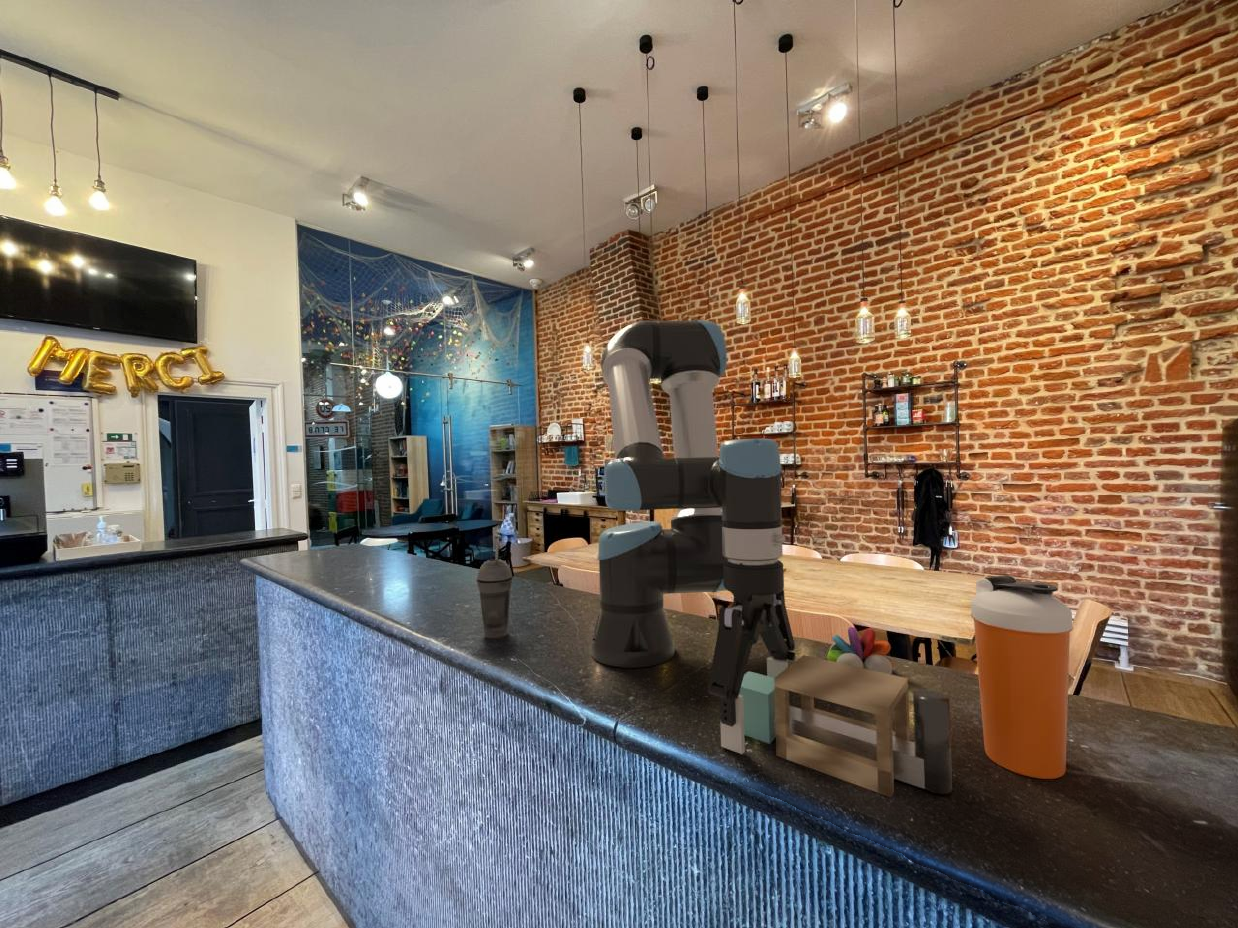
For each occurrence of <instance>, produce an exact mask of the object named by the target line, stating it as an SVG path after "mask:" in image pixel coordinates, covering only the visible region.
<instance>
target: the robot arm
mask: <svg viewBox="0 0 1238 928" xmlns="http://www.w3.org/2000/svg"><path fill="white" fill-rule="evenodd" d="M727 352H728V351H727V344H726V340H725V336H724V334H723V330H722V329H721V328H720V325H718V324H717V323H715V321H711V320H700V319H697V318H696V319H691V320H641V321H636V322H633V323H631V324H628V325H627V326H625V327H623V328H622V329H620V330H619V331H618V332H617V333H616V334H615V335H614V336H613V337H612V338H611V339H610V341H608V343H607V345H606V347H605V348H604V351H603V353H602V357H601V362H600V363H601V364H600V365H601V376H602V379H603V381H604V382H605V384H606V385H607V386H608V396H609V407H610V416H611V417H610V418H611V427H612V437H613V447H614V448H613V449H614V458H615V459H608V460H606V462H605V463H604V467H603V468H604V470H603V471H604V472H603V473H604V479H603V480H604V495H605V496H604V499H605V500H604V501H605V505H606V506H607V508H609V510H612V511H626V512H627V511H628V512H629V511H630V512H631V511H632V512H638V511H651V510H654V511H655V510H673V509H674V510H675V509H676V510H677V512H676V513H675V514H674V515H673V517H671V519H670V528H667V529H663V526H662V525H661V522H659V521H655V520H652V521H651V520H650V521H639V522H632V523H626V524H622V525H617V526H613V527H610V528H608V529H606V530H604V531H602V532H601V534H600V535H599V537H598V554H597V557H596V558H597V560H598V567H599V568H598V574H599V575H598V576H599V578H598V579H599V583H598V585H599V613H598V617H597V620H596V622H595V623H596V624H595V628H594V632H593V633H594V634H593V635H592V638H591V643H590V649H591V650H590V651H591V652H590V653H591V657H592V658H593V659H594V660H595V661H597V662H598V663H601V664H603V665H606V666H610V667H617V668H624V669H625V668H627V669H628V668H632V669H636V668H637V669H638V668H646V667H651V666H657V665H660V664H663V663H665V662H667V661H669V660H670V659H672V658H673V656H675V655H674V654H675V638H674V636H673V634H672V632H671V628H670V625H669V622H668V619H667V616H666V612H665V607H664V595H665V594H667V595H668V594H669V595H670V594H693V593H696V594H697V593H715V594H716V593H717V592H724V591H725V592H726V591H728V592H729V593H731V594H732V596H733V600H732V607H725V606H724V607H723V606H721V607H719V611H718V629H717V630H718V631H717V635H716V641H715V646H714V651H713V656H712V663H711V669H710V673H709V679H708V686H707V692H708V694H710V695H713V696H716V697H719V711H720V712H719V715H720V716H719V718H720V721H719V722H720V747H722V748H724V749H727V750H729V751H732V752H735V753H737V754H739V755H744V753H745V752H746V743H745V735H744V705H743V696H742V695H739V692H740V689H741V685H742V681H743V677H744V674H746V669H747V666H748V663H749V659H750V654H751V651H752V646H753V645H755V644H757V643H758V641H759V635H760V637H761V638H762V642H763V643H764V645H765V647H766V649H767V651H768V654H769V655H770V656H769V657H767V658H766V672H767V673H766V674H767V675H766V676H769V677H773V678H775V677H776V676H777V675H779V674H780V673H781V672H782V671H784V670H785V669H786V668H787V667H789V662H788V661H792V662H795V659H796V652H794V650H795V649H796V644H795V640H794V636H793V632H792V631H793V630H792V627H791V624H790V620H789V615H788V611H787V607H786V600H785V599H786V597H785V590H784V588H785V580H784V579H785V575H784V574H785V572H784V563H783V562H782V561H781V560H780V558H782V557H783V543H785V542H786V536H785V535H783V527H782V525H783V521H782V520H783V518H782V517H783V514H782V510H783V509H782V470H783V469H782V468H783V466H782V464H781V457H780V456H781V455H780V446H779V444H778V442H777V441H776V440H774V439H772V438H744V439H742V438H741V439H731V440H726V441H723V442H722V443H721V444H720V447H719V446H718V445H719V444H718V435H717V427H716V416H715V415H716V413H715V405H714V396H713V394H714V393H713V390H715V389H716V387H717V386H718V385H719V383H720V378H722V377H723V376H724V375H725V373H726V369H727V362H728V360H727ZM650 380H660V386H661V389H662V391H663V392H665V393H666V394H667V395H668V396H669V405H670V419H671V432H672V433H671V434H672V447H673V448H672V449H673V457H665V454H664V449H663V445H662V440H661V435H660V429H659V423H658V419H657V415H656V410H655V405H654V399H653V395H652V391H651V389H652V388H651V386H650V385H651V384H650Z"/></svg>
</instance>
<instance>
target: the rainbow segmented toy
mask: <svg viewBox="0 0 1238 928" xmlns="http://www.w3.org/2000/svg"><path fill="white" fill-rule="evenodd" d="M847 634H848V635H847V636H848V640H849V642H846V640H844V639H843V638H842V637H840V636H839V635H838V634H834V635H833V636H832V641H833V644H831V646H830V648H829V649H828V650H829V651H828V653H827V655H826V658H827V659H826V660H828V661H832V662H837V663H841V664H846V665H850V666H855V667H859V668H864V669H868V670H873V671H877V672H882V673H886V674H891V675H893V668H894V661H892V659H890V658H888V657H887V656H886V655H887V654H888V653H889V652H890V651H891V648H892V647H891V644H890V643H889V642H888V641H886V640H878V641H876V632H875V630H874V629H873V628H868V629H866V630H865V631H864V632H863V633H862V634H861V637H859V634H858V631H857V629H856V627H853V626H850V627H848V629H847Z"/></svg>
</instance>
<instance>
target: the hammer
mask: <svg viewBox="0 0 1238 928" xmlns="http://www.w3.org/2000/svg"><path fill="white" fill-rule="evenodd" d="M912 694H913V695H912V698H913V699H912V700H913V701H912V703H913V730H914V731H913V732H914V734H913V735H914V741H911V740H910V741H909V740H905V739H902V738H898V737H895V736H892V739H893V774H894V779H895V780H897V781H900V782H902V783H907V784H909V785H912V786H915V787H918V788H921V789H924V790H926V791H929V792H931V793H934V794H940V795H944V794H949V793H951V792H952V791H953V777H952V775H953V773H952V771H953V770H952V769H953V768H952V741H951V740H952V739H951V737H952V736H951V711H950V710H951V707H950V706H951V705H950V703H951V702H950V698H949V697H948V696H947V695H945V693H944V694H943V693H941V692H938V691H936V690H935V691H934V690H930V689H916V690H914V691H913V693H912ZM789 711H790V733H791V734H794V735H797V736H800V737H803V738H806V739H810V740H813V741H816V742H819V743H822V744H825V745H828V746H831V747H834V748H837V749H840V750H843V751H846V752H849V753H852V754H855V755H858V756H861V757H864V758H867V759H870V760H873V761H876V762H877V737H876V731H874V730H871V729H868V728H864V727H861V726H857V725H854V724H851V723H847V722H844V721H840V720H837V719H834V718H830V717H827V716H823V715H820V714H816V713H813V712H810V711H806V710H803V709H801V708H799V707H795V706H792V705H789ZM772 718H773V737H774V738H775V739H776V719H775V711H774V712H772Z"/></svg>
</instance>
